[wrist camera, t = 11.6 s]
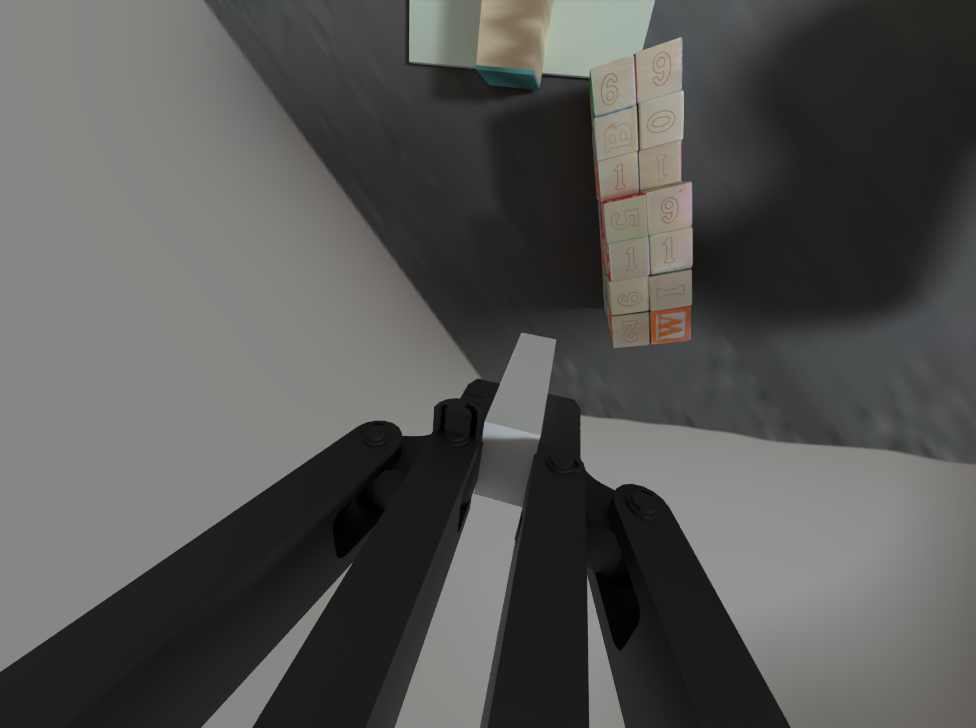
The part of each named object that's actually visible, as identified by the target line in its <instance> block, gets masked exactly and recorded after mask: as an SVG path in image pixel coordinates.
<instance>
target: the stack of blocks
mask: <svg viewBox="0 0 976 728" xmlns="http://www.w3.org/2000/svg"><path fill="white" fill-rule="evenodd" d="M589 83H590V107H591V118H592V131H593V132H592V143H593V156H594V167H595V183H596V197H597V200H598V214H599V228H600V240H601V253H602V257H601V262H602V277H603V295H604V308H605V313H606V316H607V319H608V325H609V331H610V335H611V339H612V343H613V347H614V348H620V347H630V346H642V345H649V344H650V343H651V344H661V343H670V342H680V341H687V340H690V339H691V306H690V305H691V304H692V270H691V267H692V265H693V229H692V182H681V180H682V139H683V123H684V92H683V90H682V37H681V38H678V39H675V40H672V41H669V42H666V43H663V44H660V45H657V46H654V47H651V48H648V49H645V50H642V51H639V52H637V53H635V54H634V55H630V56H627V57H624V58H621V59H618V60H615V61H612V62H609V63H606V64H603V65H601V66H597V67H595V68H592V69H591V70H590V76H589Z"/></svg>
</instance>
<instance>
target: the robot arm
mask: <svg viewBox="0 0 976 728" xmlns="http://www.w3.org/2000/svg"><path fill="white" fill-rule="evenodd" d="M555 344H556V339H551V338H546V337H541V336H536V335H531V334H526V333H521V335H520V338H519V340H518V342H517V345H516V347H515V350H514V352H513V354H512V357H511V359H510V362H509V364H508V366H507V369H506V371H505V374H504V376H503V378H502V381H501V383H500V384H499V383H494V382H490V381H486V380H481V379H476V380H475V381H473V382H472V383H470V384H468V386H467V388H466V389H465V391H464V393H463V394H462V396H461V398H460V399H457V398H455V399H447V400H444V401H441V402H439V403H438V404H437V405H436V406H435V407H434V421H433V432H432V434H430V435H426V436H402V433H401V431H400V429H399V427H398V426H396V425H395V424H393V423H391V422H387V421H372V422H367V423H364V424H362V425H360V426H358V427H356V428H355V429H354V430H352V431H351V432H349V433H348V434H346V435H345V436H343V437H342V438H340V439H339V440H338V441H336V442H335V443H333V444H332V445H330V446H329V447H327V448H326V449H324V450H323V451H322V452H320V453H319V454H317V455H316V456H314V457H313V458H311V459H310V460H308V461H307V462H306V463H304V464H303V465H301V466H300V467H298V468H297V469H295V470H294V471H292V472H291V473H290V474H288V475H287V476H285V477H284V478H282V479H281V480H279V481H278V482H276V483H275V484H274V485H272V486H271V487H269V488H268V489H266V490H265V491H263V492H262V493H260V494H259V495H257V496H256V497H255V498H253V499H252V500H250V501H249V502H247V503H246V504H244V505H243V506H241V507H240V508H239V509H237V510H236V511H234V512H233V513H231V514H230V515H228V516H227V517H226V518H224V519H223V520H221V521H220V522H218V523H217V524H216V525H214V526H212V527H211V528H209V529H208V530H207V531H205V532H204V533H202V534H201V535H199V536H198V537H196V538H195V539H193V540H192V541H191V542H189V543H188V544H186V545H185V546H183V547H182V548H180V549H179V550H177V551H176V552H175V553H173V554H172V555H170V556H169V557H167V558H166V559H164V560H163V561H161V562H160V563H158V564H157V565H156V566H154V567H153V568H151V569H150V570H148V571H147V572H145V573H144V574H142V575H141V576H140V577H138V578H137V579H135V580H134V581H132V582H131V583H129V584H128V585H126V586H125V587H124V588H122V589H121V590H119V591H118V592H116V593H115V594H113V595H112V596H111V597H109V598H107V599H106V600H105V601H103V602H102V603H100V604H99V605H97V606H96V607H94V608H93V609H91V610H90V611H89V612H87V613H86V614H84V615H83V616H81V617H80V618H78V619H77V620H75V621H74V622H73V623H71V624H70V625H68V626H67V627H65V628H64V629H62V630H61V631H60V632H58V633H57V634H55V635H54V636H52V637H51V638H49V639H48V640H46V641H45V642H43V643H42V644H41V645H39V646H38V647H36V648H35V649H33V650H32V651H30V652H29V653H28V654H26V655H25V656H23V657H22V658H20V659H19V660H17V661H16V662H14V663H13V664H11V665H10V666H9V667H7V668H6V669H4V670H3V671H1V672H0V728H201V727H202V726H203V725H204V724H205V723H206V722H207V720H208V719H209V718H210V717H211V716H212V715H213V714H214V713H215V712H216V710H218V708H219V707H220V706H221V705H222V704H223V703H224V702H225V701H226V700H227V699H228V697H229V696H230V695H231V694H232V693H233V692H234V691H235V690H236V689H237V688H238V687H239V686H240V685H241V683H242V682H243V681H244V680H245V679H246V678H247V677H248V676H249V675H250V673H252V671H253V670H254V669H255V668H256V667H257V666H258V665H259V664H260V663H261V662H262V661H263V659H264V658H265V657H266V656H267V655H268V654H269V653H270V652H271V651H272V649H274V647H275V646H276V645H277V644H278V643H279V642H280V641H281V640H282V639H283V638H284V637H285V635H286V634H287V633H288V632H289V631H290V630H291V629H292V628H293V627H294V626H295V625H296V624H297V622H298V621H299V620H300V619H301V618H302V617H303V616H304V615H305V614H306V613H307V612H308V610H309V609H310V608H311V607H312V606H313V605H314V604H315V603H316V601H318V600H319V598H320V597H321V596H322V595H323V594H324V593H325V592H326V591H327V590H328V589H329V588H330V586H331V585H332V584H333V583H334V582H335V581H336V580H337V579H338V578H339V577H340V576H341V574H342V573H343V572H344V571H345V570H346V569H347V568H348V567H349V566H350V565H351V563H352V562H353V561H354V562H353V563H352V565H351V567H350V568H349V570H348V572H347V573H346V575H345V577H344V578H343V580H342V582H341V583H340V585H339V586H338V588H337V590H336V591H335V593H334V595H333V596H332V598H331V599H330V601H329V603H328V604H327V606H326V608H325V609H324V611H323V613H322V614H321V616H320V618H319V619H318V621H317V622H316V624H315V626H314V627H313V629H312V631H311V632H310V634H309V636H308V637H307V639H306V640H305V642H304V644H303V646H302V647H301V649H300V650H299V652H298V654H297V655H296V657H295V659H294V660H293V662H292V663H291V665H290V667H289V668H288V670H287V672H286V673H285V675H284V677H283V678H282V680H281V682H280V683H279V685H278V686H277V688H276V690H275V691H274V693H273V695H272V696H271V698H270V700H269V701H268V703H267V704H266V706H265V708H264V709H263V711H262V713H261V714H260V716H259V718H258V720H257V721H256V723H255V724H254V726H253V728H394V727H395V724H396V722H397V718H398V716H399V713H400V710H401V707H402V704H403V701H404V698H405V695H406V693H407V690H408V687H409V684H410V681H411V678H412V675H413V672H414V669H415V666H416V664H417V661H418V658H419V654H420V652H421V649H422V646H423V643H424V640H425V637H426V634H427V632H428V629H429V626H430V623H431V620H432V617H433V614H434V611H435V608H436V605H437V602H438V600H439V597H440V594H441V591H442V588H443V585H444V582H445V579H446V576H447V574H448V571H449V568H450V564H451V562H452V559H453V556H454V553H455V550H456V547H457V544H458V542H459V539H460V535H461V533H462V530H463V527H464V524H465V521H466V518H467V515H468V513H469V510H470V504H471V496H472V494H473V491H474V488H475V492H474V494H477V495H481V496H485V497H488V498H492V499H495V500H499V501H502V502H506V503H510V504H513V505H517V506H520V507H522V512H521V516H520V520H519V524H518V528H517V532H516V536H515V546H514V551H513V556H512V562H511V567H510V572H509V578H508V583H507V588H506V593H505V599H504V604H503V610H502V614H501V620H500V625H499V630H498V636H497V641H496V647H495V652H494V657H493V662H492V667H491V673H490V678H489V683H488V689H487V694H486V699H485V705H484V710H483V715H482V721H481V726H480V728H589V691H588V689H589V685H588V620H587V618H588V617H587V616H588V615H587V575H588V580H589V583H590V587H591V592H592V596H593V599H594V603H595V608H596V612H597V615H598V620H599V624H600V628H601V631H602V636H603V640H604V644H605V648H606V652H607V656H608V660H609V664H610V668H611V672H612V676H613V679H614V684H615V687H616V692H617V695H618V699H619V703H620V708H621V712H622V716H623V720H624V723H625V727H626V728H790V726H789V724H788V722H787V720H786V718H785V717H784V715H783V713H782V711H781V709H780V708H779V706H778V704H777V702H776V700H775V698H774V697H773V695H772V693H771V691H770V689H769V687H768V686H767V684H766V682H765V680H764V678H763V677H762V675H761V673H760V671H759V669H758V668H757V666H756V664H755V662H754V660H753V658H752V657H751V655H750V653H749V651H748V649H747V648H746V646H745V644H744V642H743V640H742V638H741V637H740V635H739V633H738V631H737V630H736V628H735V626H734V624H733V622H732V620H731V619H730V617H729V615H728V613H727V611H726V610H725V608H724V606H723V604H722V602H721V600H720V599H719V597H718V595H717V593H716V591H715V589H714V588H713V586H712V584H711V582H710V581H709V579H708V577H707V575H706V573H705V571H704V570H703V568H702V566H701V564H700V562H699V561H698V559H697V557H696V555H695V553H694V551H693V550H692V548H691V546H690V544H689V542H688V540H687V539H686V537H685V535H684V533H683V532H682V530H681V528H680V526H679V524H678V522H677V521H676V519H675V517H674V515H673V514H672V511H671V510H670V508H669V507H668V505H667V504H666V503H665V501H664V500H663V499H662V498H661V497H659V496H658V495H657V494H656V493H654V492H653V491H651V490H649V489H647V488H645V487H643V486H639V485H635V484H626V485H622V486H620V487H618V488H617V489H616V491H615V490H613V489H611V488H609V487H607V486H605V485H604V484H601V483H600V482H598V481H597V480H595V479H594V478H593V477H592V476H590V475H589V474H588V473H587V471H586V470H585V467H584V463H583V462H582V461H581V458H580V408H579V406H578V405H577V403H576V402H575V400H573V399H569V398H565V397H560V396H556V395H551V394H548V387H549V381H550V375H551V369H552V363H553V357H554V350H555Z"/></svg>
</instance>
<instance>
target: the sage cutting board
mask: <svg viewBox="0 0 976 728" xmlns="http://www.w3.org/2000/svg"><path fill="white" fill-rule="evenodd" d="M654 2H655V0H554V1H553V7H552V13H551V20H550V26H549V32H548V39H547V45H546V51H545V58H544V64H543V70H542V75H551V76H563V77H575V78H587V79H589V76H590V70H591V69H592V68H595V67H597V66H601V65H603V64H606V63H609V62H612V61H615V60H618V59H621V58H624V57H627V56H630V55H634V54H635V53H637V52H639V51H642V49H643V45H644V41H645V38H646V34H647V30H648V26H649V22H650V18H651V14H652V10H653V6H654ZM481 4H482V0H410V12H409V62H410V63H412V64H423V65H434V66H446V67H458V68H470V69H476V62H477V50H478V38H479V27H480V15H481Z"/></svg>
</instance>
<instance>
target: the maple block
mask: <svg viewBox="0 0 976 728" xmlns="http://www.w3.org/2000/svg"><path fill="white" fill-rule="evenodd" d="M553 1H554V0H482V4H481V15H480V27H479V38H478V50H477V62H476V70H477V71H478V72H479V74H480V75H481V76H482V77H483V78H484V79H485V81H486V82H487V83H488V84H489V85H494V86H503V87H513V88H523V89H532V90H539V89H540V83H541V77H542V70H543V64H544V58H545V51H546V45H547V39H548V32H549V26H550V20H551V13H552V7H553Z"/></svg>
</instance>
